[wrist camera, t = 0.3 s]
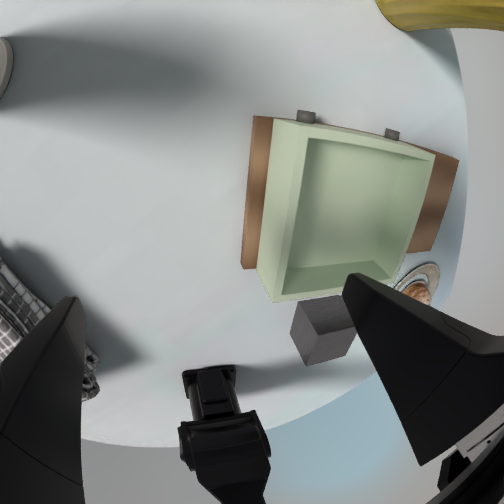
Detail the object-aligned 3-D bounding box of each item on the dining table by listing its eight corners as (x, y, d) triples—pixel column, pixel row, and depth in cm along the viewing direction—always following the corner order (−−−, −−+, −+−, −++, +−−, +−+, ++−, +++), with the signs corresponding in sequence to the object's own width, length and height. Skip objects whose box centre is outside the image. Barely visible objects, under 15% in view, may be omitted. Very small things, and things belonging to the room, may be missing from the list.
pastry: (429, 243, 31) (452, 262, 27) (438, 286, 38) (455, 303, 34) (365, 303, 33) (385, 327, 29) (386, 333, 40) (401, 353, 36)
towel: (35, 379, 25) (27, 427, 19) (-58, 285, 14) (-84, 331, 8) (107, 352, 25) (103, 415, 19) (-8, 221, 15) (-54, 275, 8)
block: (326, 325, 32) (345, 355, 28) (289, 332, 31) (305, 366, 27) (337, 294, 30) (360, 325, 25) (297, 300, 28) (318, 335, 24)
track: (425, 246, 30) (430, 250, 29) (240, 262, 23) (243, 269, 23) (452, 157, 24) (459, 160, 23) (253, 115, 17) (257, 116, 16)
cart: (367, 265, 26) (390, 289, 23) (255, 278, 23) (270, 311, 20) (403, 133, 19) (437, 145, 16) (275, 106, 16) (301, 111, 13)
